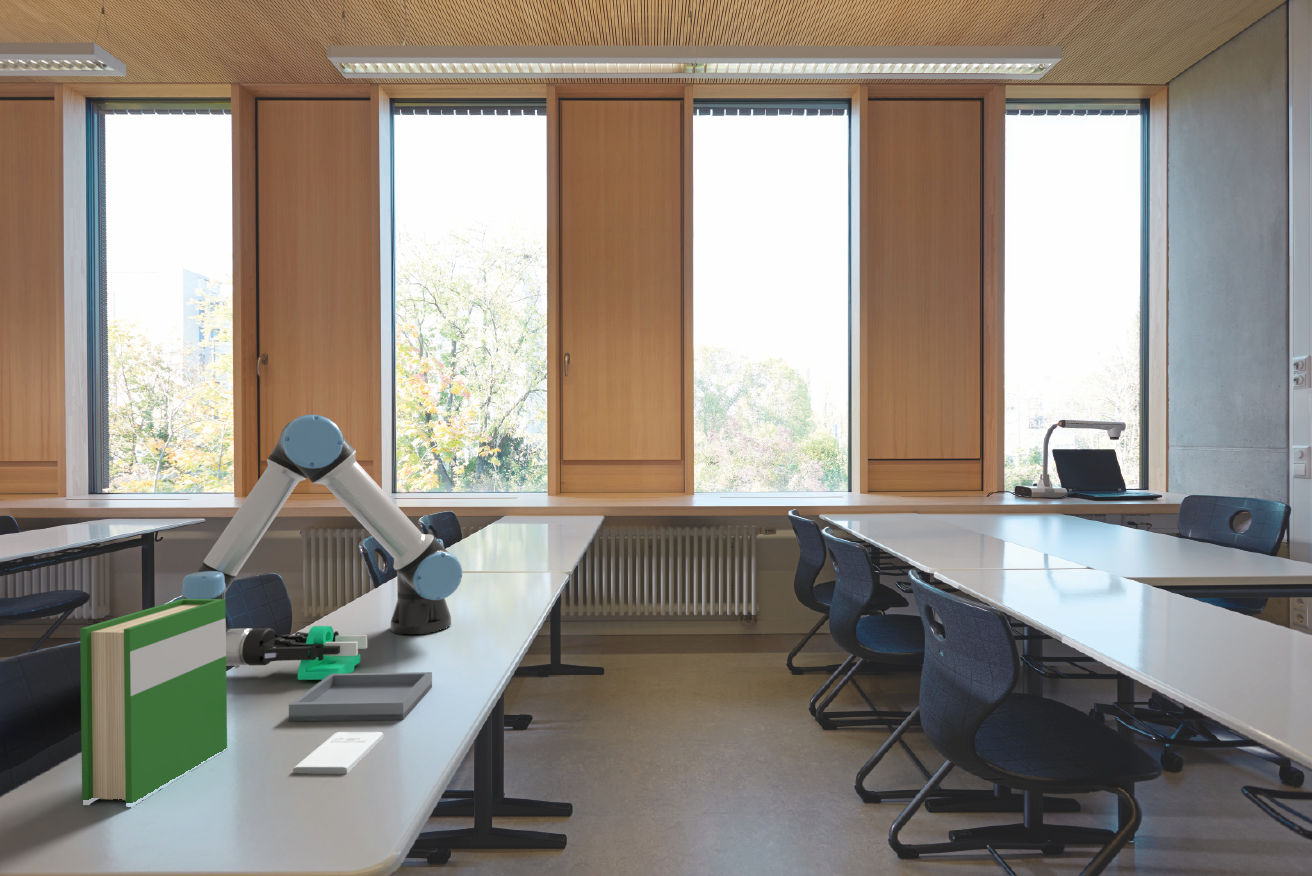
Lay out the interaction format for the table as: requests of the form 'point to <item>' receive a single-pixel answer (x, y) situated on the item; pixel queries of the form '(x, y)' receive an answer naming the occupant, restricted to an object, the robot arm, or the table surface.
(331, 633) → the green mounting bracket
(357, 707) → the tray
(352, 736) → the external hard drive
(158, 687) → the hardback book
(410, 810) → the table surface
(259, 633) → the robot arm
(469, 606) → the table surface
